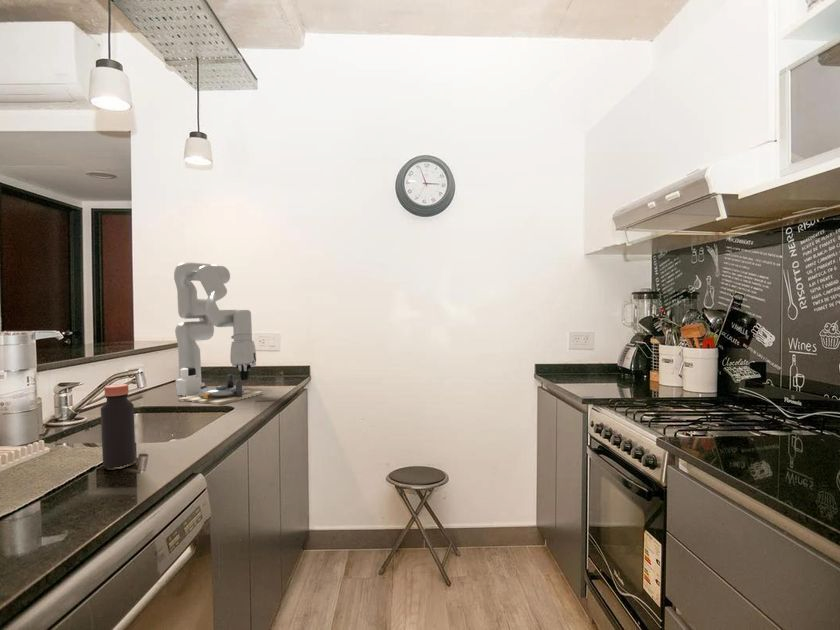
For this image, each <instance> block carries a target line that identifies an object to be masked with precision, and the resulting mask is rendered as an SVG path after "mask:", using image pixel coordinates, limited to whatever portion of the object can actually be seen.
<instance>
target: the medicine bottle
mask: <svg viewBox="0 0 840 630" xmlns="http://www.w3.org/2000/svg"><path fill="white" fill-rule="evenodd" d="M180 373H181V379H178V378H177V380H176V379H175V380H176V382H175V384H176V385H175V389H176V395H177V396H178V395H182V396H181V397H185V396H191V395H195V394H199V390H201V389H202V387H201V383H202V381H201V382H200V378H195V376H196V369H195V368H193V367H187V368H182V369H181V370H180Z"/></svg>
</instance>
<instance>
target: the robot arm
mask: <svg viewBox="0 0 840 630" xmlns="http://www.w3.org/2000/svg"><path fill="white" fill-rule="evenodd" d="M173 279H174V283H175V286H176V291H177V296H176V297H177V312H178V315H179V317H180V318H181V319H184V320H187V319H189V320H190V319H191V321H183V322H180V323H178V324H177V325H176V327H175V329H174V331H175V332H174V333H175V338H176V343H177V349H178V351H177V353H178V355H177V356H178V378H177V379H181V373H180V370H181V369H182V368H187V367H193V368H195V369H196V376H195V378H200V382H201V388H203V387H205V386H206V384H205V382H202V366H201V365H202V364H201V362H202V361H201V348H200V347H199V345H198V344H197V342H199V341H208V340H211V339H212V338H213V337H214V333H215V327H217V328H227V327H228V328H230V327H231V328H233V329H232V330H233V335H231V337H230V338H231V339H232V340H233V341H231V345H230V356H229V357H230V364H231V366H232V367H234V368H236V369H237V370H238V371H239V372H240V373H239V375H240V380H242V381H247V380H249V378H250V377H249V376H250V375H249V372H250V369H251V368H253V367H256V366H257V363H256V362H257V352H256V346H255V342H254V340H253V330H252V329H253V327H252V312H251V311H250V310H249V309H220V308H219V307H218V305H217V303H216V302H217V301H220V300H222V299H223V298H224V297H226V295H227V293H228V290H227V287H226V285H225V284H227V283H228V282H230V279H231V273H230V270H229V269H228V268H227V267H226V266H224V265H218V264H211V263H201V262H200V263H199V262H181V263H179V264H177V265H176V266H175V268H174V272H173ZM194 281H196V282H200V283H201V286H202V288H203V289H204V291H205V293H206V296H207V298H206V299H205V298H198V289H197V287H196V286H195V284H194ZM192 319H193V320H194V319H196V320H197V319H199V321H195V320H194V321H193V320H192ZM177 379H175V380H174V381H175V383H176V380H177Z"/></svg>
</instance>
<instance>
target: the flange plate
mask: <svg viewBox="0 0 840 630" xmlns="http://www.w3.org/2000/svg"><path fill="white" fill-rule="evenodd" d="M226 381H227V382H226V385H225V384H224V385H217V386H216V385H215V386H209V387H204V388H201V390H199V395H200V396H203V398H209V397H219V396H229V395H235V394H236V384H234V374H227V375H226ZM245 390H246V389H245V386H243V385H242V392H244V391H245Z"/></svg>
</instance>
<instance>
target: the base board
mask: <svg viewBox="0 0 840 630" xmlns="http://www.w3.org/2000/svg"><path fill="white" fill-rule="evenodd" d="M235 385H236V394H235V395H229V396H219V397H209V398H203V396H200V395H199V394H195V395H191V396H186V397H185V396H181V397H178V398H177V401H178V400H184V401H183V402H185V401H192V402H191V403H195V402H199V403H198V404H206V405H216V406H223V405H226V404H229V403H233V402H237V400H238V401H241V399H242V400H245V399H244V398H246V399H249V398H248V397H250V398H253V397H257V396H260V395H259V394H261V395H264V394H265V391H261V390H252V389H251V390H249V389H244V390H245V391H244V392H242V386H243V380H241V379H236V380H235ZM263 393H264V394H263ZM256 395H257V396H256ZM252 396H253V397H252Z"/></svg>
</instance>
